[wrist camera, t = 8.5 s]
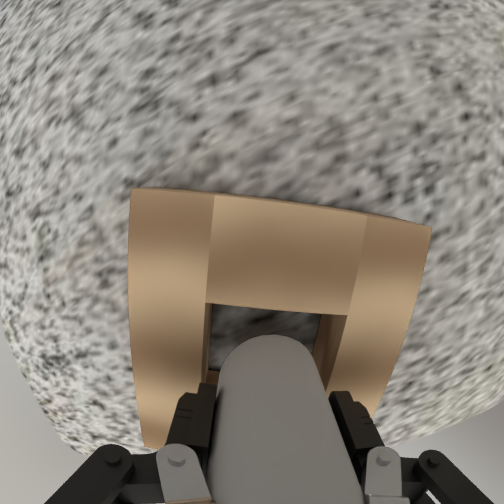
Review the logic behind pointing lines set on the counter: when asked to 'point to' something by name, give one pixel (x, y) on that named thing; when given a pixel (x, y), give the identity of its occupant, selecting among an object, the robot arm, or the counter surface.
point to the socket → (264, 288)
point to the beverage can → (276, 431)
